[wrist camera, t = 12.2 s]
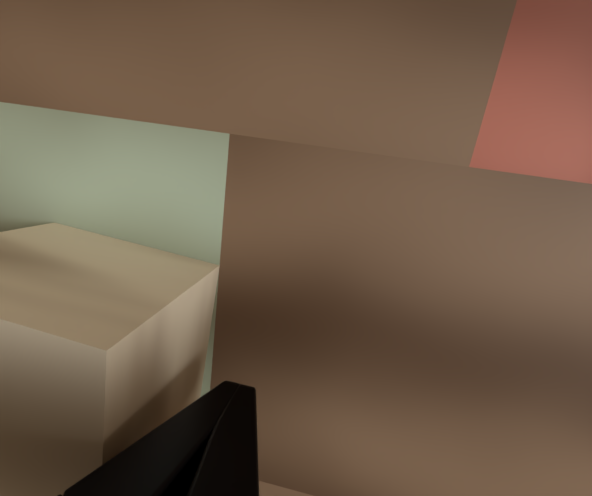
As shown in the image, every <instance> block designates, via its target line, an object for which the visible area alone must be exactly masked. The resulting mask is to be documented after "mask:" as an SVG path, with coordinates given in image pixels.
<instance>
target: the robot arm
mask: <svg viewBox="0 0 592 496" xmlns="http://www.w3.org/2000/svg"><path fill="white" fill-rule="evenodd" d="M57 496H259V469H258V437H257V405H256V389H255V387H252V386H248V385H244V384H239V383H235V382H231V381H223V382H222V383H220V384H219V385H217V386H216V387H214V388H213V389H211V390H210V391H209V392H207V393H206V394H204V395H203V396H201V397H200V398H198V399H197V400H195V401H194V402H193V403H191V404H190V405H188V406H187V407H185V408H184V409H182V410H181V411H180V412H178V413H177V414H175V415H174V416H172V417H171V418H169V419H168V420H166V421H165V422H164V423H162V424H161V425H159V426H158V427H156V428H155V429H153V430H152V431H151V432H149V433H148V434H146V435H145V436H143V437H142V438H140V439H139V440H137V441H136V442H135V443H133V444H132V445H130V446H129V447H127V448H126V449H124V450H123V451H121V452H120V453H119V454H117V455H116V456H114V457H113V458H111V459H110V460H108V461H107V462H106V463H104V464H103V465H101V466H100V467H98V468H97V469H95V470H94V471H92V472H91V473H90V474H88V475H87V476H85V477H84V478H82V479H81V480H79V481H78V482H77V483H75V484H74V485H72V486H71V487H69V488H68V489H66V490H65V492H64V494H63V495H62V494H59V495H57Z"/></svg>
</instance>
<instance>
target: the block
mask: <svg viewBox="0 0 592 496" xmlns="http://www.w3.org/2000/svg"><path fill="white" fill-rule="evenodd" d="M219 267H220V265H216V264H212V263H209V262H205V261H201V260H197V259H193V258H189V257H186V256H182V255H178V254H174V253H170V252H166V251H162V250H159V249H155V248H151V247H147V246H143V245H139V244H136V243H132V242H128V241H124V240H120V239H116V238H112V237H109V236H105V235H101V234H97V233H93V232H89V231H85V230H82V229H78V228H74V227H70V226H66V225H62V224H59V223H55V222H54V223H49V224H43V225H37V226H32V227H26V228H20V229H15V230H9V231H3V232H0V496H57V495H59V494H62V495H63V494H64V492H65V490H66V489H68V488H69V487H71V486H72V485H74V484H75V483H77V482H78V481H79V480H81V479H82V478H84V477H85V476H87V475H88V474H90V473H91V472H92V471H94V470H95V469H97V468H98V467H100V466H101V465H103V464H104V463H106V462H107V461H108V460H110V459H111V458H113V457H114V456H116V455H117V454H119V453H120V452H121V451H123V450H124V449H126V448H127V447H129V446H130V445H132V444H133V443H135V442H136V441H137V440H139V439H140V438H142V437H143V436H145V435H146V434H148V433H149V432H151V431H152V430H153V429H155V428H156V427H158V426H159V425H161V424H162V423H164V422H165V421H166V420H168V419H169V418H171V417H172V416H174V415H175V414H177V413H178V412H180V411H181V410H182V409H184V408H185V407H187V406H188V405H190V404H191V403H193V402H194V401H195V400H197V399H198V398H200V396H201V389H202V382H203V376H204V369H205V362H206V355H207V348H208V341H209V335H210V328H211V321H212V314H213V307H214V301H215V294H216V287H217V280H218V273H219Z"/></svg>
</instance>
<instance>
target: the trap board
mask: <svg viewBox="0 0 592 496" xmlns="http://www.w3.org/2000/svg"><path fill="white" fill-rule="evenodd" d="M54 222H55V223H59V224H62V225H66V226H70V227H74V228H78V229H82V230H85V231H89V232H93V233H97V234H101V235H105V236H109V237H112V238H116V239H120V240H124V241H128V242H132V243H136V244H139V245H143V246H147V247H151V248H155V249H159V250H162V251H166V252H170V253H174V254H178V255H182V256H186V257H189V258H193V259H197V260H201V261H205V262H209V263H212V264H216V265H220V267H219V273H218V280H217V287H216V294H215V301H214V307H213V314H212V321H211V328H210V335H209V341H208V348H207V355H206V362H205V369H204V376H203V382H202V389H201V396H203V395H204V394H206V393H207V392H209V391H210V390H211V389H213V388H214V387H216V386H217V385H219V384H220V383H222V382H223V381H231V382H235V383H239V384H244V385H248V386H252V387H255V389H256V405H257V437H258V469H259V496H592V0H0V232H3V231H9V230H15V229H20V228H26V227H32V226H37V225H43V224H49V223H54ZM201 396H200V397H201Z"/></svg>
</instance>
